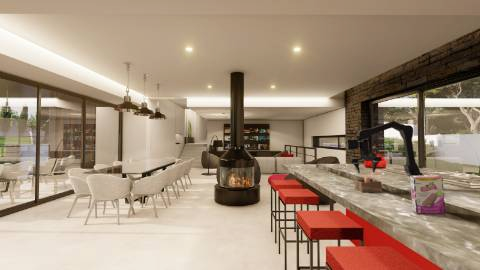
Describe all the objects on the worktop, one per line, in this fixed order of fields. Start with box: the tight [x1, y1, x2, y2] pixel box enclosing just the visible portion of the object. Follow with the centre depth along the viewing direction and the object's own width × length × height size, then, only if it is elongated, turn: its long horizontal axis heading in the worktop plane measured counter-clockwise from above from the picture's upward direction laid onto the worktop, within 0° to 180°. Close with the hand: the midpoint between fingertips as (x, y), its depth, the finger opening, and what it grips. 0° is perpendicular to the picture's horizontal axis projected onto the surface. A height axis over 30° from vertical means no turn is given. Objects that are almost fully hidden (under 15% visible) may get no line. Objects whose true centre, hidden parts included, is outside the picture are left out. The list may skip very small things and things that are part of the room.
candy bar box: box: [409, 174, 446, 215], centre depth 113 cm, size 11×5×16 cm, turn 74°
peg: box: [364, 176, 371, 182], centre depth 165 cm, size 3×3×8 cm
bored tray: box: [353, 178, 383, 193], centre depth 165 cm, size 12×12×6 cm
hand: (366, 172), depth 165 cm, fingers open, 9 cm apart
